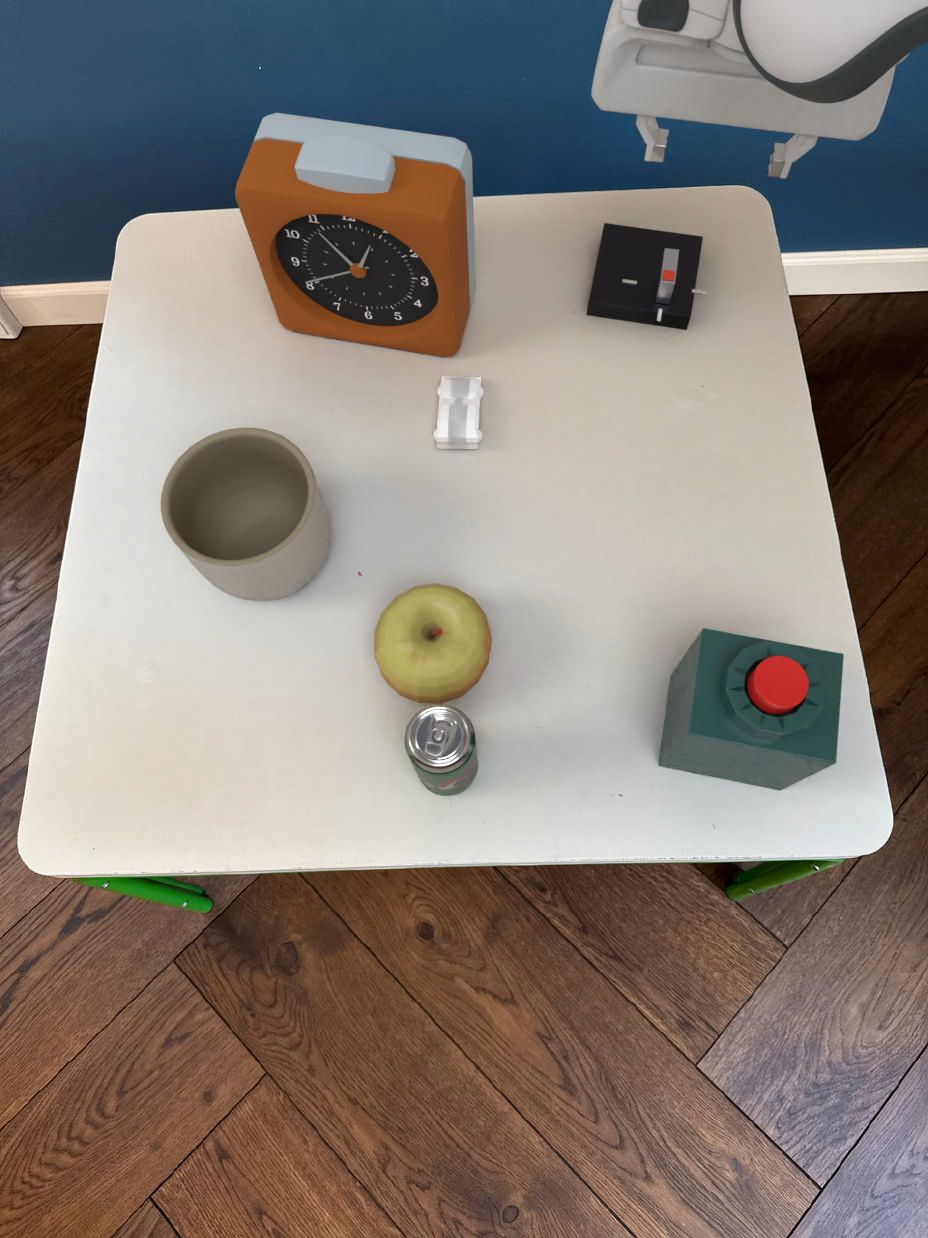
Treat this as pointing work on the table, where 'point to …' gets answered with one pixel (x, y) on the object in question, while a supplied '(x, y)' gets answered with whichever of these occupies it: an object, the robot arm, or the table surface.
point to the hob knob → (667, 276)
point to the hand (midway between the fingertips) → (715, 163)
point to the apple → (432, 643)
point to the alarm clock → (362, 231)
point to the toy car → (459, 413)
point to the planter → (247, 513)
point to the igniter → (749, 714)
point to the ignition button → (777, 684)
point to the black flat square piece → (643, 276)
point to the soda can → (442, 749)
